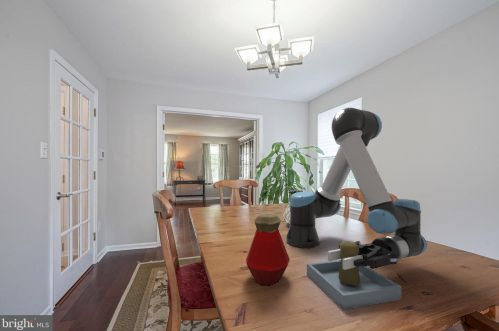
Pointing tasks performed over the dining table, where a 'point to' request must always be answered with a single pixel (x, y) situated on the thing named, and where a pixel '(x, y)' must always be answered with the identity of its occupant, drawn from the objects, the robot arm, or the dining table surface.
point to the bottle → (267, 251)
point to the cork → (351, 274)
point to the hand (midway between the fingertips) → (335, 260)
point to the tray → (351, 296)
